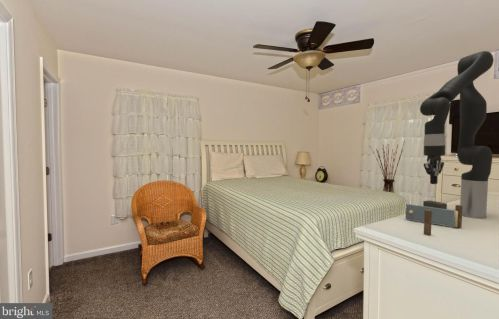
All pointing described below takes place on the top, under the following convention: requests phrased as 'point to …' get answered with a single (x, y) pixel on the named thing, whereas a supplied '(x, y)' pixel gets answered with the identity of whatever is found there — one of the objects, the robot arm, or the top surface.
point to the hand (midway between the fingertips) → (433, 183)
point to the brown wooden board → (429, 219)
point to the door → (438, 215)
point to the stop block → (435, 204)
